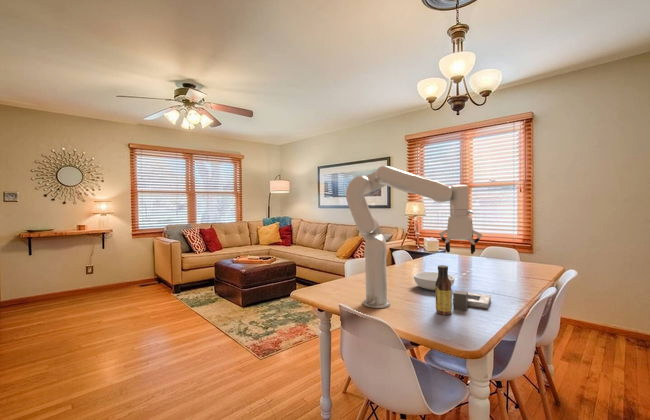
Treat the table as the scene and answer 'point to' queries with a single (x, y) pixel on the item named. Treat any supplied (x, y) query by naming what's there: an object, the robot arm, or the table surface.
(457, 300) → the plug
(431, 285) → the serving bowl
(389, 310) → the table surface
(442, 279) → the sauce bottle
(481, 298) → the socket plate
